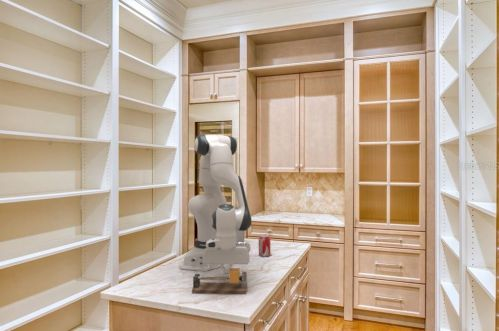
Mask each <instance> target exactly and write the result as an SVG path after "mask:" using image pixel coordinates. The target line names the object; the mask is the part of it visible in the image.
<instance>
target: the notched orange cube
mask: <svg viewBox="0 0 499 331" xmlns="http://www.w3.org/2000/svg"><path fill="white" fill-rule="evenodd" d="M240 272H241V271H240V267H231V269H230V271H229V274H228V275H229V276H228V277H229V279H230V280H229V283H240V280H239V277H240V276H241V274H240Z"/></svg>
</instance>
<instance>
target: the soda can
mask: <svg viewBox="0 0 499 331" xmlns="http://www.w3.org/2000/svg"><path fill="white" fill-rule="evenodd" d="M258 255H259V256H260V257H263V258H267V257H269V256H271V237H270V235H269V234H260V235H259V237H258Z"/></svg>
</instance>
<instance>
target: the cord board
mask: <svg viewBox="0 0 499 331" xmlns="http://www.w3.org/2000/svg"><path fill="white" fill-rule="evenodd" d="M247 274H248V273H247V271H242V272H241V275H240V277H239V283H230V282H209V281H211V280H213V281H216V280H217V281H218V280H219V281H230V279H229V276H201V274H200V273H195V274H194V275H193V277H192V281H193V282H192V289H191V293H192V294H200V295H201V294H205V295H206V294H208V295H211V294H213V295H216V294H217V295H246V294H247V289H248V281H247V279H248V278H247V277H248V276H247ZM201 280H202V281H203V280H205V281H207V282H205V281H203V282H201ZM208 280H209V281H208Z"/></svg>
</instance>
